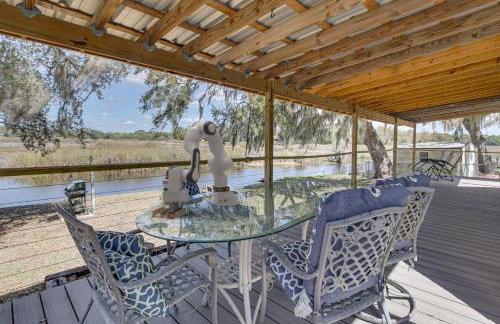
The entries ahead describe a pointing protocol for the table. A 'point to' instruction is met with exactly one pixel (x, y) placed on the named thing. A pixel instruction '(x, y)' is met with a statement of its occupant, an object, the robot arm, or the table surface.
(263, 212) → the table surface
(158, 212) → the rack
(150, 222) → the table surface
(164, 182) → the cracker box
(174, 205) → the blanking panel
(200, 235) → the table surface
